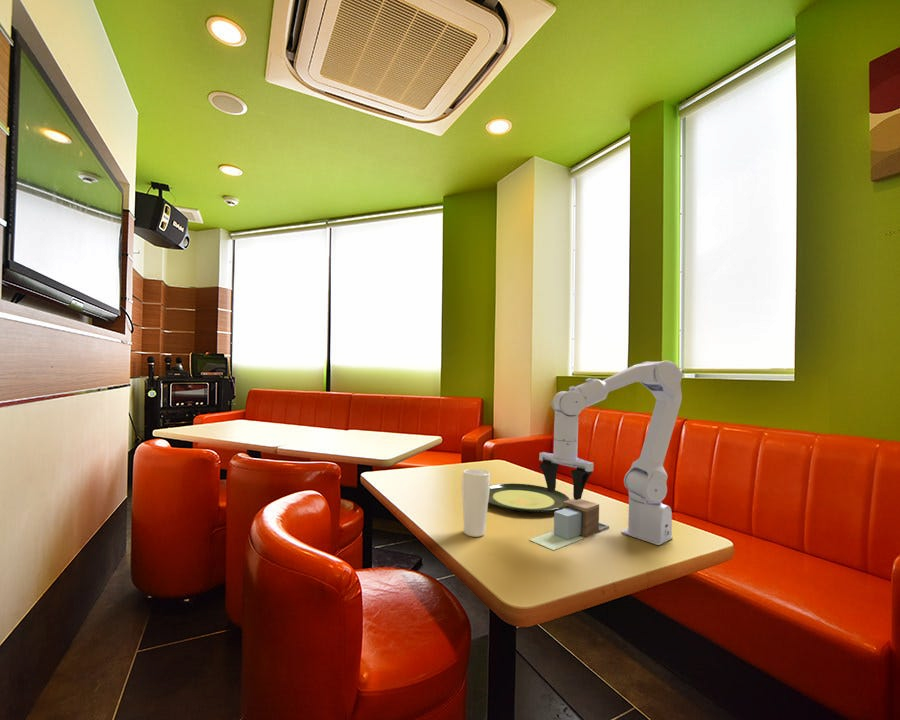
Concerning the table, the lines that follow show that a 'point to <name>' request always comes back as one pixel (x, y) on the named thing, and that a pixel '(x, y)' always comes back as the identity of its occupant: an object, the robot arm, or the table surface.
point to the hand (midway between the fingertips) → (564, 495)
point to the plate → (526, 497)
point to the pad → (554, 540)
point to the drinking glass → (475, 501)
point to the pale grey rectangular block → (568, 522)
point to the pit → (603, 527)
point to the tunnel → (586, 514)
